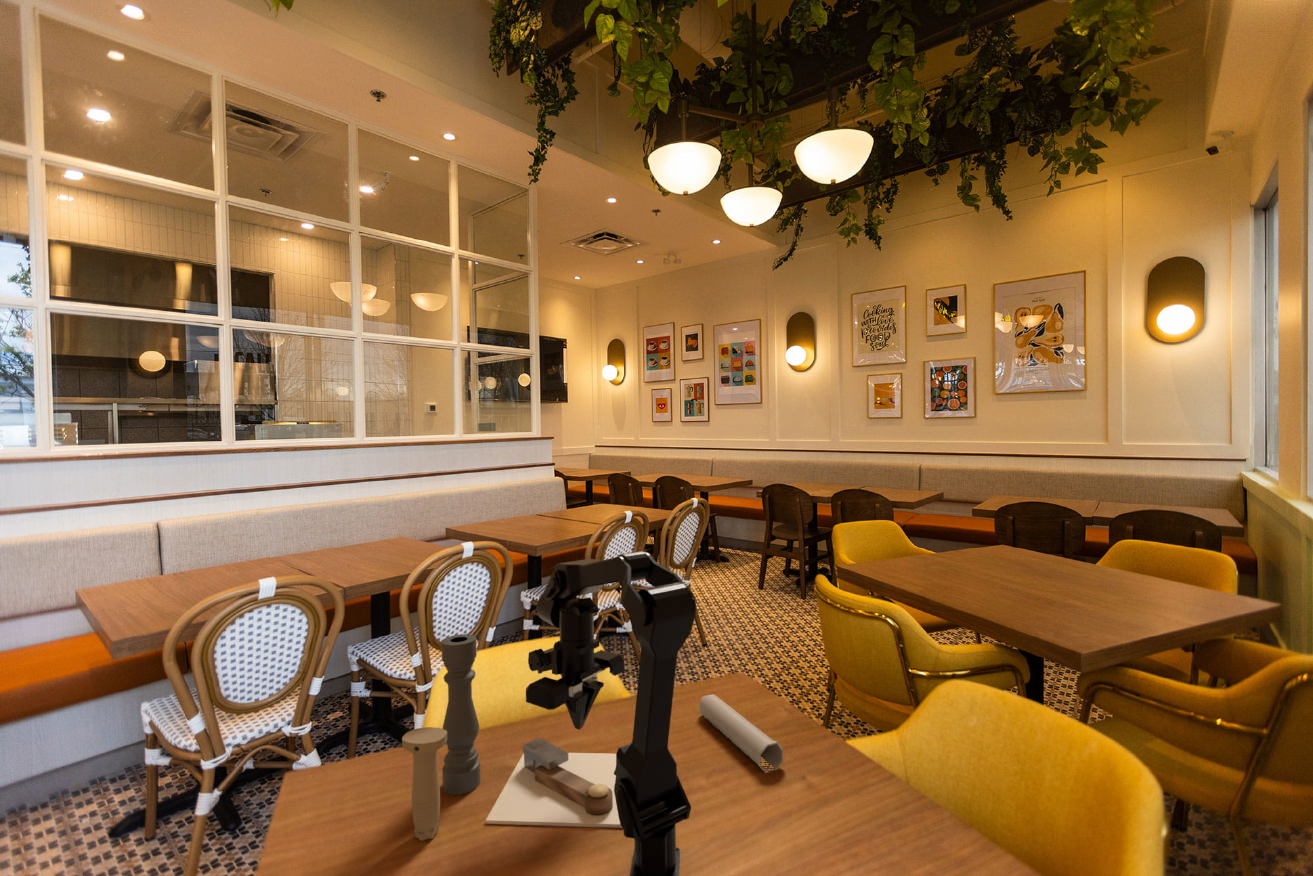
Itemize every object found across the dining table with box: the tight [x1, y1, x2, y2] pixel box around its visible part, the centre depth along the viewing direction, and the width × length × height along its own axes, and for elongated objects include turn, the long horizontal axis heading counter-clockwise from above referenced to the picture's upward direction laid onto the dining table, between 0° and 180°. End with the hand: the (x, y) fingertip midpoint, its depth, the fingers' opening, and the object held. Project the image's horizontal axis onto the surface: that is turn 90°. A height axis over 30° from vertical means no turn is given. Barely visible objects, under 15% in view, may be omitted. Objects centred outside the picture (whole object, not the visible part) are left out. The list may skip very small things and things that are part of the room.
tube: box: [698, 693, 785, 774], centre depth 115 cm, size 5×5×25 cm
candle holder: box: [441, 633, 481, 796], centre depth 101 cm, size 6×6×25 cm
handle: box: [401, 726, 447, 842], centre depth 89 cm, size 5×6×15 cm
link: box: [535, 765, 613, 815], centre depth 97 cm, size 16×4×2 cm, turn 51°
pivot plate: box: [485, 752, 624, 829], centre depth 100 cm, size 20×22×3 cm
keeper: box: [522, 737, 569, 773], centre depth 104 cm, size 8×4×4 cm, turn 46°
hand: (578, 728), depth 99 cm, fingers closed
